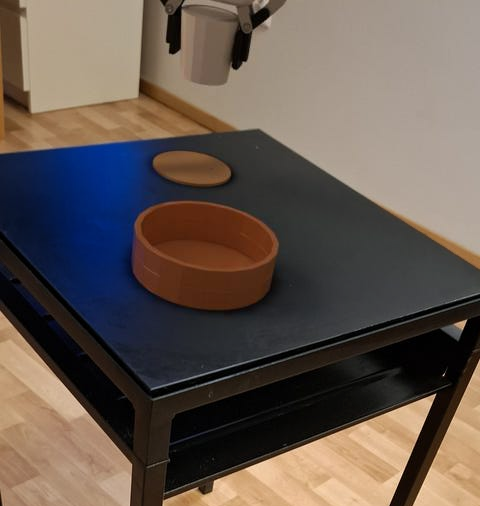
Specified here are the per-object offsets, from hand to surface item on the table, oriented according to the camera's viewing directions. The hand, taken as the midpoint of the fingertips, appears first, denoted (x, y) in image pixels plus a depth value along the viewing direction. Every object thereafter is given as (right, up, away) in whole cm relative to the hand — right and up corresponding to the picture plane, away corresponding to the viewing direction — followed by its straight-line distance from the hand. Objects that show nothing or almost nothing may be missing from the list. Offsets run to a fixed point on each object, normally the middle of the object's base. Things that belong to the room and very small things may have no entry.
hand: (206, 58), depth 86 cm
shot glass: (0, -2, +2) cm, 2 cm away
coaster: (-2, -10, +9) cm, 14 cm away
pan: (0, -27, -10) cm, 29 cm away
